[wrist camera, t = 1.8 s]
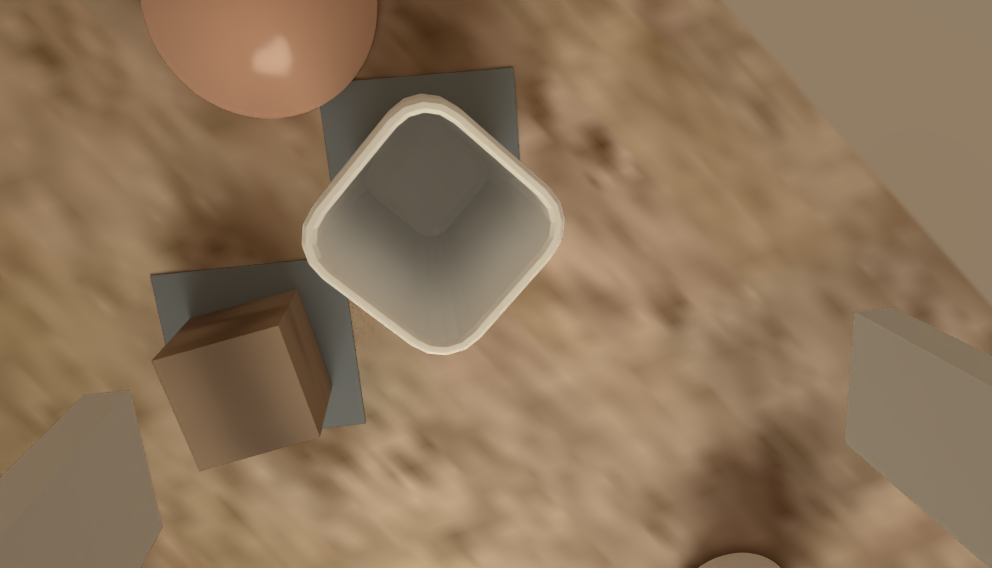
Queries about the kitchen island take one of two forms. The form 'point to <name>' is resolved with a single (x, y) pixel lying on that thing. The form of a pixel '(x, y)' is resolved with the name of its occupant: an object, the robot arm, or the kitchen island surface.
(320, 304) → the code tile
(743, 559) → the beverage can
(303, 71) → the salmon round part
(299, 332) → the walnut block
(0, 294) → the kitchen island surface
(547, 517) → the kitchen island surface
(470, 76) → the code tile
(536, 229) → the cup
